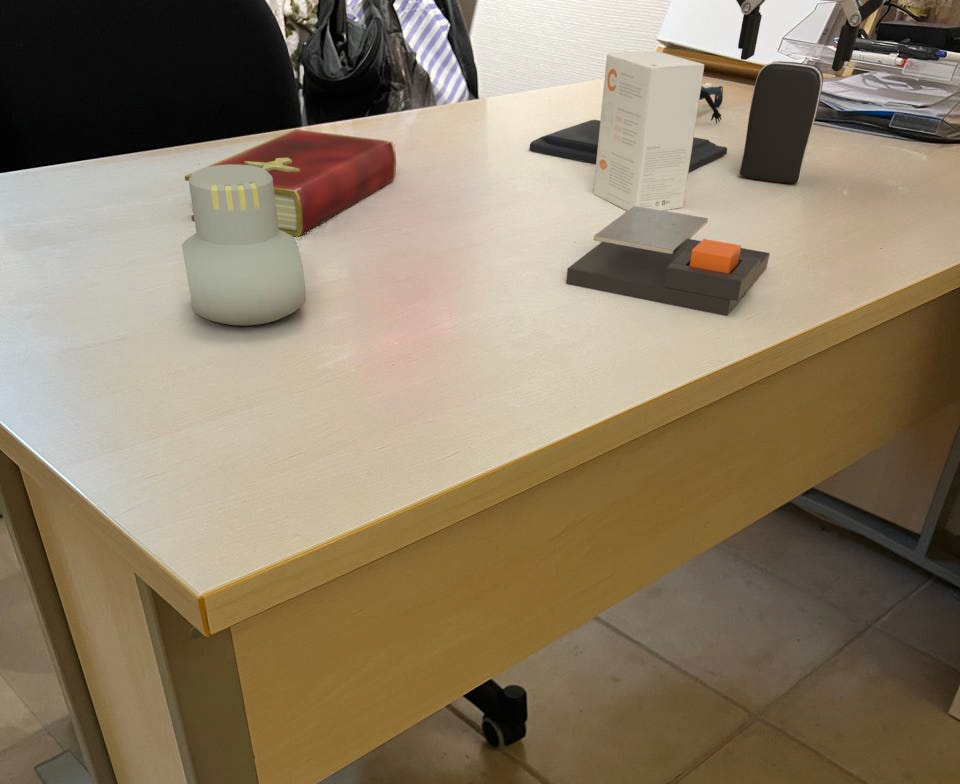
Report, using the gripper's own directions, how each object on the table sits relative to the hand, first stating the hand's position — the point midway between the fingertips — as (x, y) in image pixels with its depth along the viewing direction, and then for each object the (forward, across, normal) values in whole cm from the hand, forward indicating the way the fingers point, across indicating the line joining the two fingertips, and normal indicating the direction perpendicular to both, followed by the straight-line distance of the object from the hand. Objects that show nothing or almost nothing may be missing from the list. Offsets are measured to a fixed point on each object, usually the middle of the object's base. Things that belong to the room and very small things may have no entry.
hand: (791, 63), depth 100 cm
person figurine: (+12, +18, -26) cm, 33 cm away
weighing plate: (+8, +2, +36) cm, 37 cm away
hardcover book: (+12, +40, +35) cm, 54 cm away
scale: (+11, 0, +37) cm, 39 cm away
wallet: (+12, +18, -2) cm, 21 cm away
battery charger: (+12, 0, 0) cm, 12 cm away
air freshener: (+12, +26, +62) cm, 68 cm away
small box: (+12, +10, +17) cm, 23 cm away
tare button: (+8, -5, +41) cm, 42 cm away
